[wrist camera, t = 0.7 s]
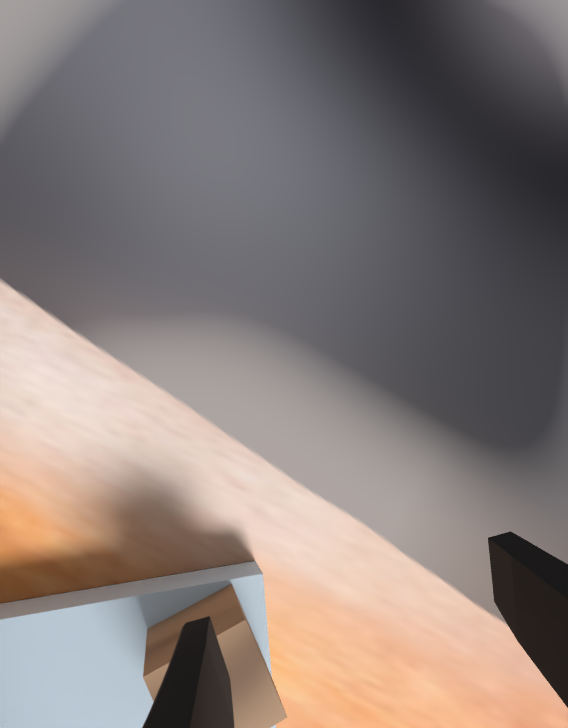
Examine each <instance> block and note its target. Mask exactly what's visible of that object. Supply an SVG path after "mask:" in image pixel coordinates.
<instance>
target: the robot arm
mask: <svg viewBox="0 0 568 728" xmlns="http://www.w3.org/2000/svg"><path fill="white" fill-rule="evenodd" d="M488 543H489V553H490V562H491V572H492V582H493V593H494V602H495V603H496V605H497V607H498V609H499V610H500V612H501V614H502V615H503V617H504V619H505V621H506V622H507V624H508V626H509V627H510V629H511V631H512V632H513V634H514V636H515V637H516V639H517V641H518V642H519V643H520V645H521V646H522V647H523V649H524V650H525V652H526V653H527V654H528V656H529V657H530V658H531V660H532V661H533V662H534V664H535V665H536V666H537V668H538V669H539V670H540V672H541V673H542V674H543V676H544V677H545V678H546V680H547V681H548V682H549V684H550V685H551V686H552V688H553V689H554V690H555V691H556V693H557V694H558V695H559V697H560V698H561V699H562V701H563V702H564V703H565V705H566V706H567V707H568V564H566V563H564V562H563V561H561V560H559V559H557V558H556V557H554V556H552V555H550V554H549V553H547V552H545V551H543V550H542V549H540V548H538V547H537V546H535V545H533V544H531V543H530V542H528V541H526V540H524V539H523V538H521V537H519V536H517V535H516V534H514V533H512V532H508V533H504V534H500V535H497V536H493V537H489V538H488ZM142 728H234V714H233V703H232V692H231V682H230V676H229V673H228V670H227V667H226V664H225V661H224V658H223V655H222V652H221V649H220V646H219V643H218V640H217V637H216V634H215V631H214V627H213V624H212V621H211V618H210V616H208V617H204V618H201V619H197V620H194V621H190V622H187V623H185V624H184V626H183V627H182V629H181V632H180V635H179V638H178V641H177V644H176V647H175V649H174V652H173V655H172V658H171V660H170V663H169V666H168V668H167V671H166V673H165V676H164V678H163V681H162V683H161V686H160V688H159V690H158V693H157V695H156V697H155V700H154V702H153V705H152V707H151V709H150V712H149V714H148V716H147V718H146V720H145V723H144V725H143V727H142Z"/></svg>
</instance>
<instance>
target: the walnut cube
mask: <svg viewBox="0 0 568 728" xmlns="http://www.w3.org/2000/svg"><path fill="white" fill-rule="evenodd" d="M208 616H210V618H211V621H212V624H213V627H214V631H215V634H216V637H217V640H218V643H219V646H220V649H221V652H222V655H223V658H224V661H225V664H226V667H227V670H228V673H229V676H230V682H231V692H232V703H233V714H234V728H271V727H272V726H274V725H275V724H277V723H279V722H280V721H282V720H283V719H285V718H287V716H286V713H285V710H284V708H283V705H282V703H281V700H280V698H279V695H278V693H277V690H276V687H275V685H274V682H273V680H272V677H271V675H270V672H269V669H268V667H267V664H266V662H265V660H264V657H263V655H262V653H261V650H260V648H259V646H258V643H257V641H256V639H255V636H254V634H253V632H252V629H251V627H250V625H249V622H248V620H247V618H246V615H245V613H244V611H243V608H242V606H241V604H240V601H239V599H238V597H237V595H236V592H235V590H234V588H233V585H232V584H230V585H228V586H226V587H224V588H222V589H221V590H219V591H217V592H215V593H213V594H211V595H209V596H207V597H206V598H204V599H202V600H200V601H198V602H196V603H194V604H193V605H191V606H189V607H187V608H185V609H183V610H181V611H180V612H178V613H176V614H174V615H172V616H170V617H168V618H167V619H165V620H163V621H161V622H159V623H157V624H155V625H154V626H152V627H150V628H148V629H147V638H146V649H145V660H144V671H143V679H144V681H145V683H146V685H147V688H148V690H149V692H150V695H151V697H152V699H153V702H154V700H155V697H156V695H157V693H158V690H159V688H160V686H161V683H162V681H163V678H164V676H165V673H166V671H167V668H168V666H169V663H170V660H171V658H172V655H173V652H174V649H175V647H176V644H177V641H178V638H179V635H180V632H181V629H182V627H183V626H184V624H185V623H187V622H190V621H194V620H197V619H201V618H204V617H208Z"/></svg>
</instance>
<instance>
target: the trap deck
mask: <svg viewBox="0 0 568 728" xmlns="http://www.w3.org/2000/svg"><path fill="white" fill-rule="evenodd" d="M230 584H232V585H233V588H234V590H235V592H236V595H237V597H238V599H239V601H240V604H241V606H242V608H243V611H244V613H245V615H246V618H247V620H248V622H249V625H250V627H251V629H252V632H253V634H254V636H255V639H256V641H257V643H258V646H259V648H260V650H261V653H262V655H263V657H264V660H265V662H266V664H267V667H268V669H269V672H270V675H271V664H270V652H269V640H268V629H267V617H266V605H265V593H264V582H263V573H262V571H261V570H260V568H259V566H258V565H257V563H256V561H252V562H246V563H240V564H234V565H228V566H222V567H216V568H210V569H204V570H198V571H192V572H186V573H180V574H174V575H168V576H162V577H156V578H151V579H145V580H139V581H133V582H127V583H121V584H115V585H109V586H103V587H97V588H91V589H85V590H79V591H73V592H67V593H61V594H55V595H49V596H43V597H38V598H32V599H26V600H20V601H14V602H8V603H2V604H0V728H142V727H143V725H144V723H145V720H146V718H147V716H148V714H149V712H150V709H151V707H152V705H153V699H152V697H151V695H150V692H149V690H148V688H147V685H146V683H145V681H144V679H143V671H144V660H145V649H146V638H147V629H148V628H150V627H152V626H154V625H155V624H157V623H159V622H161V621H163V620H165V619H167V618H168V617H170V616H172V615H174V614H176V613H178V612H180V611H181V610H183V609H185V608H187V607H189V606H191V605H193V604H194V603H196V602H198V601H200V600H202V599H204V598H206V597H207V596H209V595H211V594H213V593H215V592H217V591H219V590H221V589H222V588H224V587H226V586H228V585H230ZM271 677H272V676H271ZM271 728H276V724H275V725H274V726H272V727H271Z"/></svg>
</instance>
